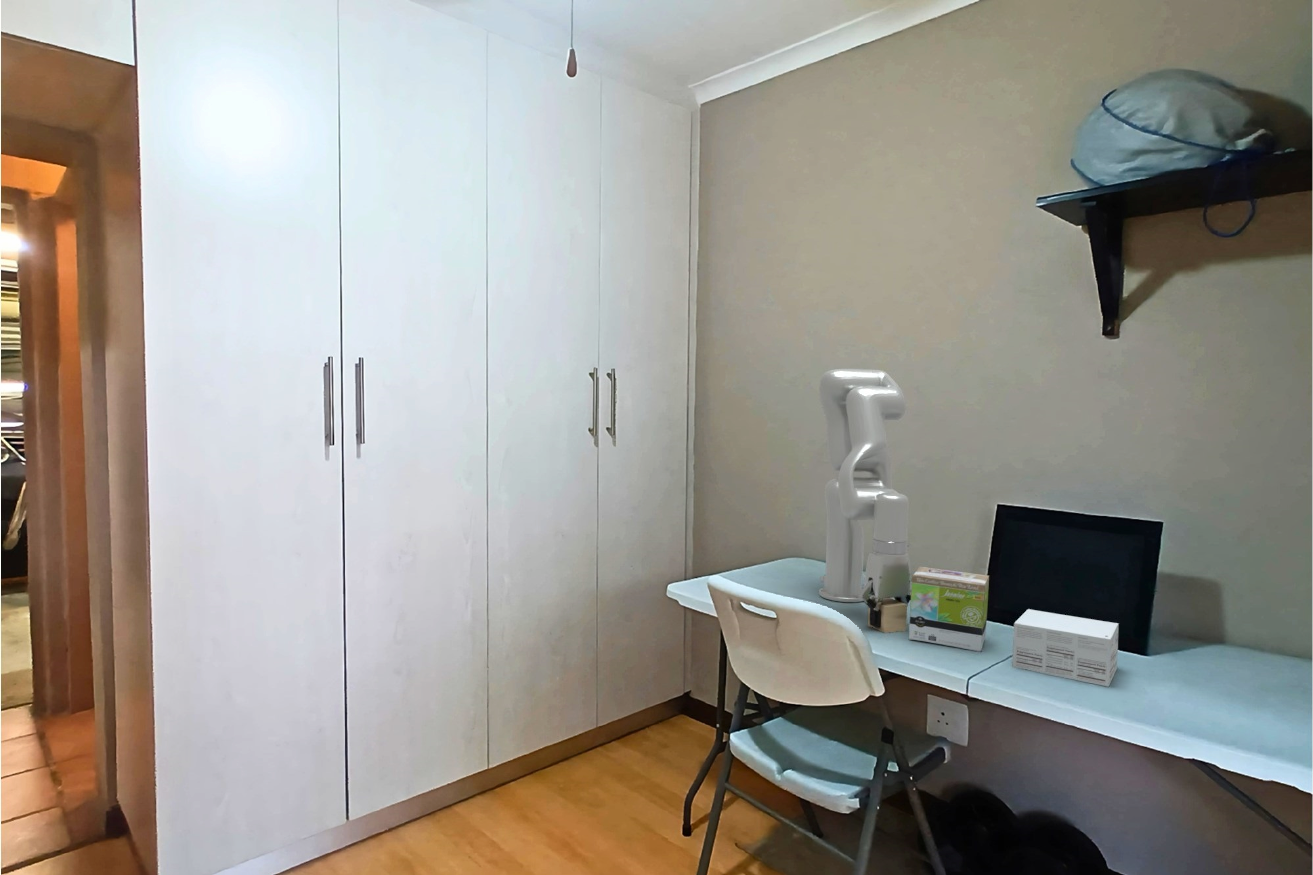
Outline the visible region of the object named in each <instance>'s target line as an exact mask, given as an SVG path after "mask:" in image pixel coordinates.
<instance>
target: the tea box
mask: <svg viewBox="0 0 1313 875" xmlns="http://www.w3.org/2000/svg"><path fill="white" fill-rule="evenodd" d="M989 581H990V575H986V574H980V573H979V574H978V573H973V572H964V571H956V570H951V569H949V570H948V569H941V568H934V567H926V566H925V567H924V566H918V568H917V569H916V571H915V572H914V573H913V574H912V575H911V583H912V587H911V600H910V605H909V609H910V610H909V620H908V621H909V625H908V626H909V628H908V638H909V639H908V640H912V641H919V642H920V641H921V642H927V643H932V644H938V645H943V646H949V647H954V648H958V649H964V650H968V651H972V652H973V651H974V652H978V653H980V652H981V651H982V649H983V646H984V642H985V639H986V633H987V632H986V631H987V620H988V604H989V603H988V601H989V583H990V582H989Z"/></svg>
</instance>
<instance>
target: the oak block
mask: <svg viewBox="0 0 1313 875" xmlns="http://www.w3.org/2000/svg"><path fill="white" fill-rule="evenodd" d="M876 600H877V599H875V602H876ZM875 602H874V603H875ZM867 608H868V607H867ZM879 610H880V611H881V627H880V628H876V627H874V626H872V625H870V608H868V611H867V612H868V613H867V614H868V615H867V626H868V627H871V628H872V627H873V628H872V629H875V630H876V631H877V630H878V631H879V632H881V631H882V632H881V633H883V632H884V634H888V633H889V632H890V633H895V632H896V631H898V632H903V631H905V632H906V631H907V620H908V618H907V616H908V606H907V604H905V603H902V602H899V601H897V600H895V599H894V598H893V597H892V598H883V600H882V603H881V605H880V608H879ZM896 633H897V632H896Z"/></svg>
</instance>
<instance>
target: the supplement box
mask: <svg viewBox="0 0 1313 875" xmlns="http://www.w3.org/2000/svg"><path fill="white" fill-rule="evenodd" d="M1012 640H1013V642H1012V644H1013V645H1012V657H1011V658H1012V660H1011V667H1012V666H1014V667H1013V668H1016V667H1018V668H1017V669H1020V668H1023V669H1022V670H1025V669H1028V670H1027V671H1030V670H1031V671H1030V672H1035V671H1036V672H1035V673H1039V672H1040V673H1041V674H1044V673H1045V674H1044V675H1049V676H1054V677H1059V678H1063V677H1064V678H1065V679H1068V680H1069V679H1070V680H1074V681H1079V682H1083V683H1084V682H1085V683H1087V684H1088V683H1089V684H1093V685H1097V686H1103V687H1110V684H1111V682H1112V680H1113V679H1114V676H1115V673H1116V672H1117V670H1118V655H1119V654H1118V653H1119V652H1118V650H1119V623H1117V622H1110V621H1103V620H1097V619H1093V618H1092V619H1091V618H1086V617H1079V616H1073V615H1067V614H1066V615H1065V614H1060V613H1055V612H1048V611H1042V610H1035V609H1032V608H1031V609H1030V608H1028V609H1026V611H1025V612H1024V613H1022V615H1021V616H1019V618H1018V619H1017V620H1015V622H1014V623H1013V639H1012Z"/></svg>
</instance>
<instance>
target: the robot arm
mask: <svg viewBox="0 0 1313 875" xmlns="http://www.w3.org/2000/svg"><path fill="white" fill-rule="evenodd" d="M818 396H819V400H820V404H821V405H820V406H821V409H822V411H823V414H824V417H825V422H826V423H825V424H826V435H827V436H826V437H827V453H828V454H827V455H828V456H827V458H828V463H829V466H830V468H831V470H833V471H835V472H838V477H835V478H833V479H830V480H829V481H828V482H827V483H826V484H825V487H824V491H823V492H824V503H825V509H826V510H825V511H826V549H825V550H826V553H825V575H824V576H820V578H819V580H820V582H822V583H823V587H821V588H819V590H818V595H819V597H821V598H823V599H826V600H830V601H835V602H841V603H859V602H864V603H865V605H866V606H867V608H870V625H872V626H874V627H876V628H880V627H881V611H880V610H879V608H880V605H881V603H882V600H883V598H892V599H894V600H897V601H899V602H902V603H905V604H907V607H908V606H909V603H910V602H911V587H912V575H911V574H912V572H911V571H912V570H911V561H910V557H909V556H910V555H909V553H908V548H909V547H910V546H911V543H910V541H909V540H908V534H909V533H908V531H909V506H910V504H909V498H908V496H907V495H905V494H903V493H899V492H898V491H896V489H894V488H893V478H892V475H893V474H892V463H891V453H890V449H889V446H888V444H889V443H888V439H887V432H886V425H885V424H886V423H885V421H899V420H901V419H902V418H903V417H904V415H905V414H906V410H907V409H906V408H907V405H906V404H907V402H906V398H905V395H904V393H903V390H902V388H900V386H899V384H898V383H897V382H896V380H894V379H893V378H892V377H891V376H890V375H889V373H887V372H886V371H885V370H882V369H870V368H869V369H867V368H865V369H864V368H838V369H837V368H835V369H831V370H827V371H825V372H824V373H823V374H822V376H821V377H820V380H819V386H818ZM854 473H867V474H868V477H867V476H865V477H864V476H863V477H860V476H858V477H857V476H855V477H854ZM860 521H873V531H872V532H873V533H872V551H870V552H869V554H868V556H867V561H866V566H865V574H864V575H863V573H864V550H865V549H864V548H865V544H864V543H865V531H864V528H863V525H862V524H861V522H860ZM863 576H864V577H863ZM863 578H864V585H863ZM869 595H870V596H869ZM875 599H877V600H876V602H875ZM874 602H875V603H874Z"/></svg>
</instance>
